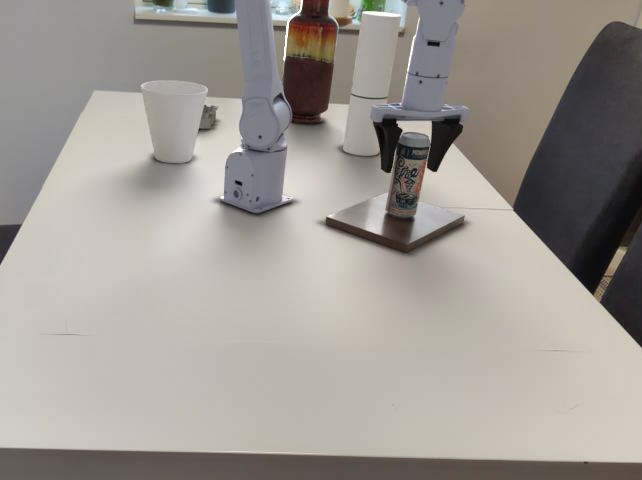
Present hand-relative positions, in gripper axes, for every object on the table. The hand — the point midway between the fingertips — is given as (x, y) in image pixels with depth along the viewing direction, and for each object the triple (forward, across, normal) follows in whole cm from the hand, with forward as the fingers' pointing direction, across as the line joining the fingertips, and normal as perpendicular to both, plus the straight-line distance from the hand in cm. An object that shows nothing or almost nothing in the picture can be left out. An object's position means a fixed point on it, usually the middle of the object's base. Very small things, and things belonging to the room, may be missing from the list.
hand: (408, 170), depth 106 cm
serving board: (+8, +1, +1) cm, 8 cm away
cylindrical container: (+8, -10, -38) cm, 40 cm away
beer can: (+7, 0, 0) cm, 7 cm away
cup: (+8, +29, -35) cm, 46 cm away
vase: (+8, -6, -63) cm, 64 cm away
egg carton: (+8, +19, -59) cm, 63 cm away
